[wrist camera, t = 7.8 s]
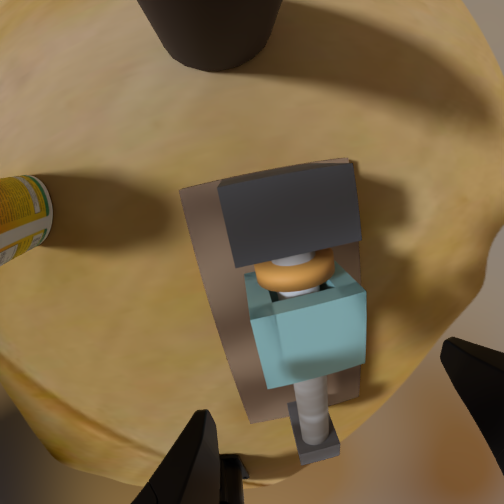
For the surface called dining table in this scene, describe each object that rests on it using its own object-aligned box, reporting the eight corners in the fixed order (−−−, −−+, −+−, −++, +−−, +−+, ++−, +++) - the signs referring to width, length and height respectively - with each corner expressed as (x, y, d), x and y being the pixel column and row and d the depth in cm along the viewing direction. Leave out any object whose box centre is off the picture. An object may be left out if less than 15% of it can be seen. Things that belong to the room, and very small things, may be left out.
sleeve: (334, 315, 16) (364, 362, 12) (258, 333, 16) (267, 389, 12) (328, 254, 15) (366, 291, 11) (244, 273, 15) (250, 320, 10)
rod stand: (355, 389, 22) (383, 444, 16) (249, 415, 22) (256, 478, 15) (341, 157, 16) (405, 157, 9) (181, 188, 16) (148, 205, 9)
